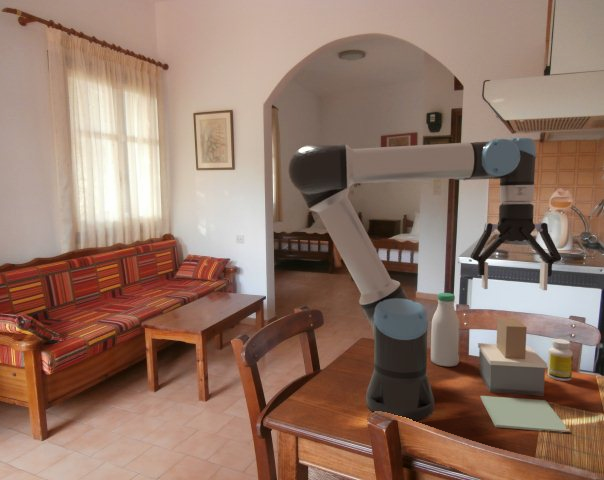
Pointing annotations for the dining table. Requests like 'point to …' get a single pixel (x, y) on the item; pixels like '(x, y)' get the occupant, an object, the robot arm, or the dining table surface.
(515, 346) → the lid
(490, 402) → the mat
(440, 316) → the milk bottle
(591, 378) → the dining table surface
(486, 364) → the box
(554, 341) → the supplement bottle
